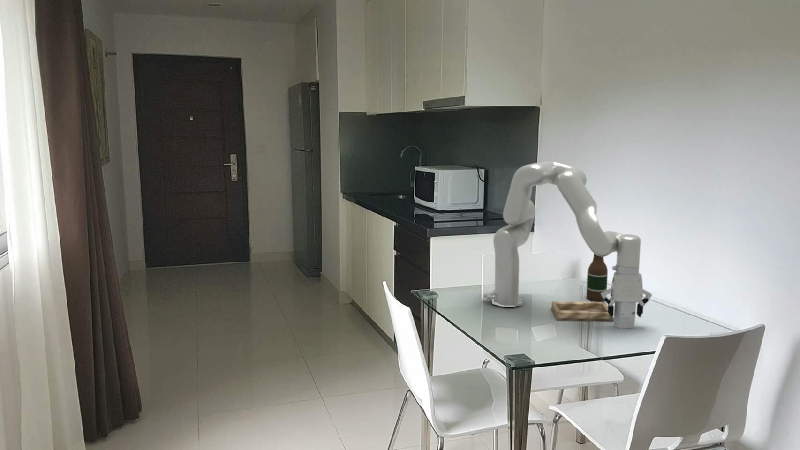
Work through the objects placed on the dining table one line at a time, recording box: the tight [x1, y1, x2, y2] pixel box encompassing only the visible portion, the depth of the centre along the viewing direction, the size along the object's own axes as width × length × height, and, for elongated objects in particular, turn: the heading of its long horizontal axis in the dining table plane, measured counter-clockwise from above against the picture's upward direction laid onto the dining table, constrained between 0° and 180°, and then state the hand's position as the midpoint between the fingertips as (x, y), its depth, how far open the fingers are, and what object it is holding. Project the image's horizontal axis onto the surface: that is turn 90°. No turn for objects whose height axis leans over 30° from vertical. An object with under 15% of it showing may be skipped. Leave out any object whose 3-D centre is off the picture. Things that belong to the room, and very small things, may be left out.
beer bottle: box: [586, 253, 609, 302], centre depth 240 cm, size 8×8×24 cm
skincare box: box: [613, 302, 637, 330], centre depth 212 cm, size 6×4×12 cm
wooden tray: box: [550, 301, 614, 323], centre depth 225 cm, size 21×13×3 cm, turn 85°
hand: (625, 315), depth 212 cm, fingers open, 9 cm apart
